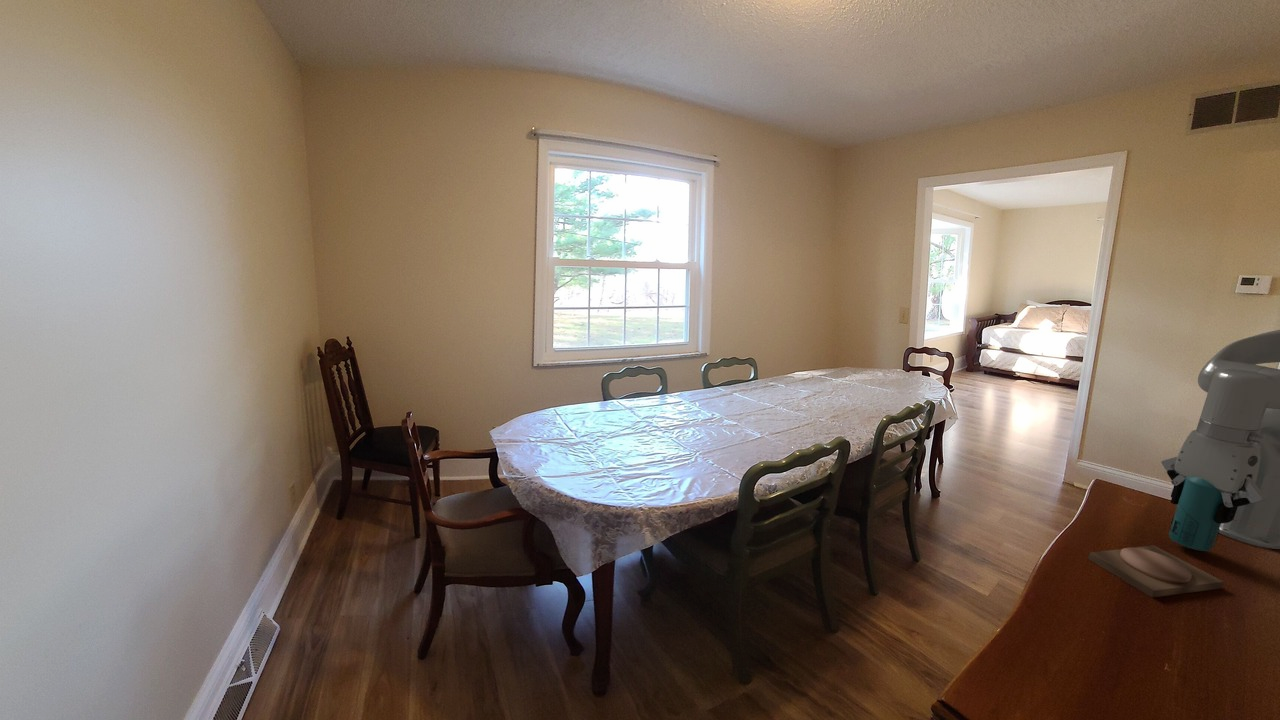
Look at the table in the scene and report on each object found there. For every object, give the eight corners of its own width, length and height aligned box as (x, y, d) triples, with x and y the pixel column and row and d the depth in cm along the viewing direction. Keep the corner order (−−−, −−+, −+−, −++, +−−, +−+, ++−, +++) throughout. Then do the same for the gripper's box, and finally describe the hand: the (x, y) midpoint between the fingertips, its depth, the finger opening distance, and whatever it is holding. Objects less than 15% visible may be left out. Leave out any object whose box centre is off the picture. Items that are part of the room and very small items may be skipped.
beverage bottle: (1220, 560, 98) (1252, 470, 93) (1181, 555, 99) (1210, 467, 94) (1192, 540, 104) (1220, 456, 99) (1155, 537, 106) (1181, 453, 100)
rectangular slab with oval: (1151, 551, 101) (1154, 542, 100) (1220, 588, 90) (1224, 577, 90) (1088, 558, 98) (1090, 549, 98) (1151, 597, 88) (1155, 586, 87)
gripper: (1305, 449, 87) (1272, 535, 92) (1186, 415, 104) (1163, 489, 109) (1273, 452, 86) (1241, 539, 91) (1158, 417, 103) (1136, 492, 107)
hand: (1199, 511), depth 100 cm, fingers closed on beverage bottle, 6 cm apart
